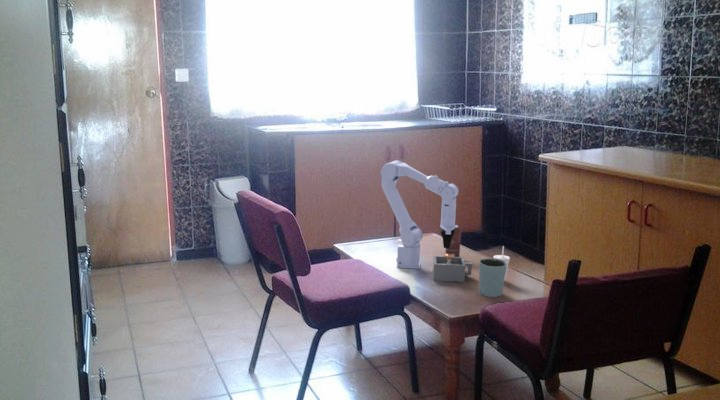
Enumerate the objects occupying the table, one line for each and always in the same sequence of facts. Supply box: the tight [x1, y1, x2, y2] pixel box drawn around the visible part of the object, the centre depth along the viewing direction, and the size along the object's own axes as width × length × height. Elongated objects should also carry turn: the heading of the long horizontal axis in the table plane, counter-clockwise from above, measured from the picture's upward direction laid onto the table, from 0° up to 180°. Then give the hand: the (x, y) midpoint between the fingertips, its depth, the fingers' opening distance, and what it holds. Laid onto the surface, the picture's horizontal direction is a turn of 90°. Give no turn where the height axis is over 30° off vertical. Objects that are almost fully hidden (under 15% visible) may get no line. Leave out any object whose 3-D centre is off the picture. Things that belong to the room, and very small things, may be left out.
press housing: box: [432, 255, 473, 283], centre depth 287 cm, size 15×12×6 cm
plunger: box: [437, 253, 460, 265], centre depth 287 cm, size 9×9×5 cm
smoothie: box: [492, 245, 511, 283], centre depth 283 cm, size 6×6×14 cm
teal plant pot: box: [478, 258, 508, 298], centre depth 268 cm, size 10×10×12 cm
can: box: [444, 224, 463, 257], centre depth 314 cm, size 6×6×14 cm
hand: (446, 247), depth 293 cm, fingers closed
